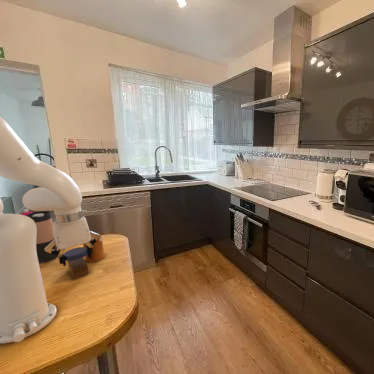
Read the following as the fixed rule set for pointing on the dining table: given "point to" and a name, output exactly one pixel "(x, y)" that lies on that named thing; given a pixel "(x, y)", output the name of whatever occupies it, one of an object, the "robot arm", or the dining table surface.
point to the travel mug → (43, 235)
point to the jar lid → (75, 253)
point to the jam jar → (96, 250)
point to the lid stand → (78, 268)
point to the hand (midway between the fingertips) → (77, 260)
